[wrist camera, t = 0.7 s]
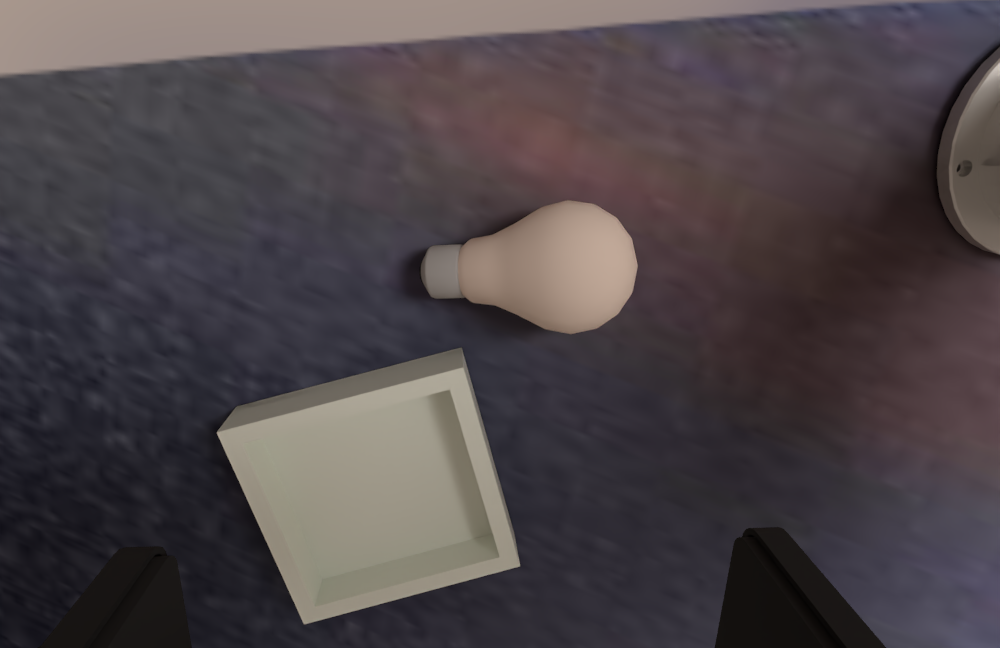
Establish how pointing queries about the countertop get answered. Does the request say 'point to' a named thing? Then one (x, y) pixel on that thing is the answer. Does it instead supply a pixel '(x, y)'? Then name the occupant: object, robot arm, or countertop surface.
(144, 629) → the robot arm
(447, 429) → the tray
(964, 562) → the countertop surface
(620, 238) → the light bulb
